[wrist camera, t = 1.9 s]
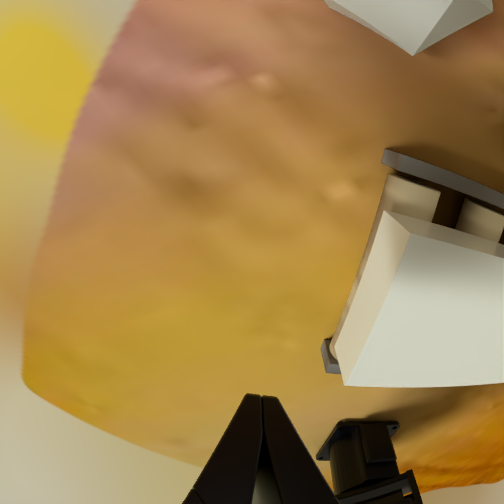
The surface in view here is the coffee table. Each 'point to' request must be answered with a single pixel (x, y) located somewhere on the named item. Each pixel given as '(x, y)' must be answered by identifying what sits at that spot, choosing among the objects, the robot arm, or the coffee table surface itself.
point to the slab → (425, 309)
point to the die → (413, 18)
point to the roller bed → (422, 217)
